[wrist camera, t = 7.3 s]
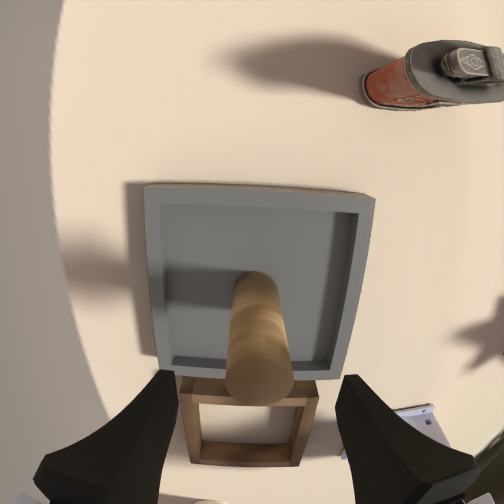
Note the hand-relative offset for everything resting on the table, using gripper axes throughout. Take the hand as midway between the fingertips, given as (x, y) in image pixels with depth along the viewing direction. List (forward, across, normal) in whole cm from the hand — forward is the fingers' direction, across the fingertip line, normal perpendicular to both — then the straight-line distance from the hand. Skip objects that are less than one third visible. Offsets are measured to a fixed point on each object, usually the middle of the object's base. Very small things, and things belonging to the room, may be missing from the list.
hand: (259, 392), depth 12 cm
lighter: (+11, -10, -15) cm, 21 cm away
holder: (+10, 0, +14) cm, 17 cm away
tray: (+10, 0, 0) cm, 10 cm away
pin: (+10, 0, 0) cm, 10 cm away
